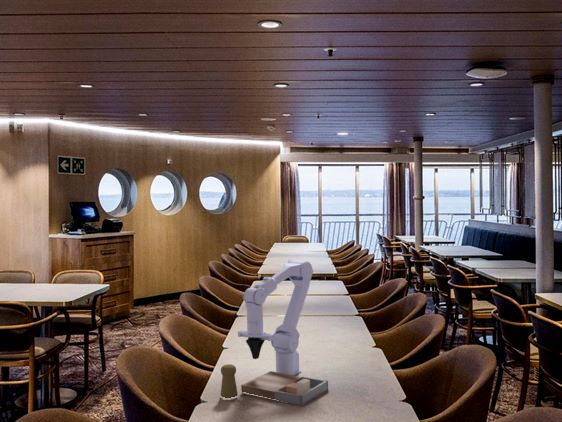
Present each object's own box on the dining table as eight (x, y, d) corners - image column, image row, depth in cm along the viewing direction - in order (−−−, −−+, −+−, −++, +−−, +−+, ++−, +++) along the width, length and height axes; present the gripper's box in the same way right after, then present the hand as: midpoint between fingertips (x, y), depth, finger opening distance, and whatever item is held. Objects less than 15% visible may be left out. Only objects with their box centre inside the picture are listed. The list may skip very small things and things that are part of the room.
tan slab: (270, 379, 207) (270, 371, 207) (302, 385, 200) (302, 376, 200) (241, 393, 192) (241, 385, 192) (275, 400, 185) (274, 391, 185)
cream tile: (303, 378, 191) (309, 379, 190) (303, 391, 191) (310, 392, 190) (296, 382, 187) (302, 383, 186) (296, 395, 188) (303, 397, 186)
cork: (238, 394, 192) (237, 362, 192) (237, 400, 186) (236, 367, 186) (220, 394, 192) (220, 362, 192) (219, 400, 186) (218, 368, 186)
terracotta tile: (292, 389, 194) (292, 382, 194) (303, 391, 191) (303, 384, 191) (285, 393, 190) (285, 386, 190) (297, 395, 188) (296, 388, 188)
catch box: (302, 385, 200) (302, 376, 200) (328, 389, 194) (327, 380, 194) (275, 400, 185) (274, 391, 185) (301, 406, 179) (301, 396, 179)
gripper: (232, 321, 203) (233, 358, 203) (265, 325, 195) (266, 363, 195) (244, 317, 209) (244, 353, 209) (276, 321, 201) (277, 358, 201)
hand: (255, 358), depth 202 cm, fingers closed
